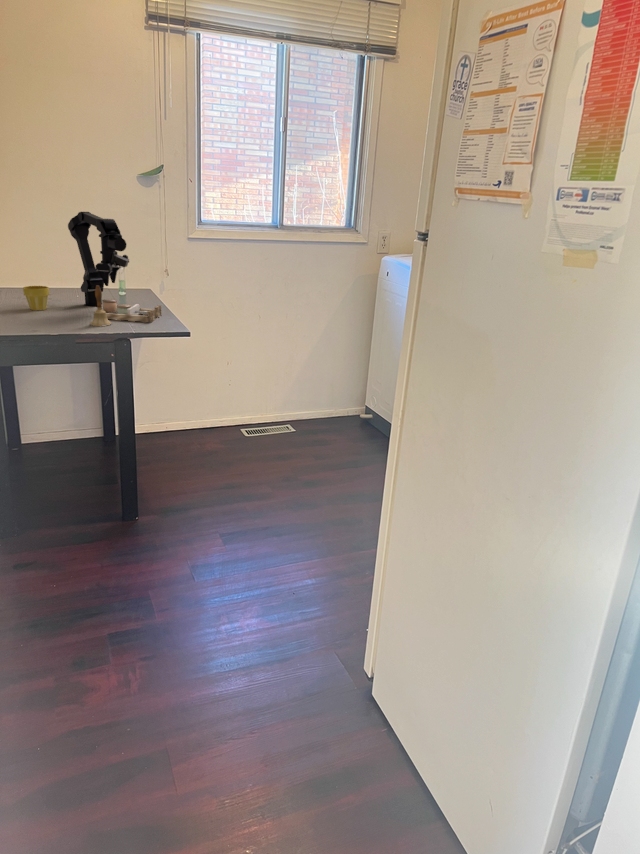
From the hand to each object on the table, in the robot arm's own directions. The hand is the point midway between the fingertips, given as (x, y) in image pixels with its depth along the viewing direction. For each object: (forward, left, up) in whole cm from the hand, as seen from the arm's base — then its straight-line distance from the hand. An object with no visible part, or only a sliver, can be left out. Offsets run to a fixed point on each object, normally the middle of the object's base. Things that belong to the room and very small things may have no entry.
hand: (110, 284), depth 278 cm
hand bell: (+5, -29, -12) cm, 31 cm away
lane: (+13, -11, -12) cm, 20 cm away
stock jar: (+9, -11, -12) cm, 19 cm away
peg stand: (+17, -11, -12) cm, 23 cm away
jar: (-1, -1, -12) cm, 12 cm away
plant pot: (-31, -8, -12) cm, 34 cm away
